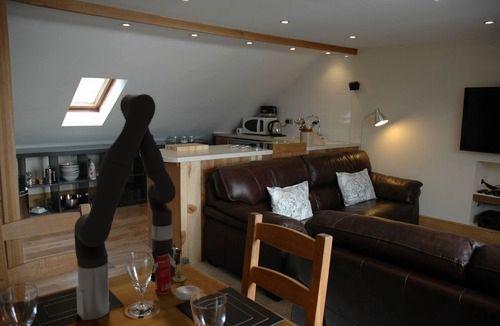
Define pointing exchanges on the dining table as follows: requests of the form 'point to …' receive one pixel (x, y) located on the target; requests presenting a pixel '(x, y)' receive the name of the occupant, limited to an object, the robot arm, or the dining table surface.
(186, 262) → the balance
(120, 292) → the dining table surface
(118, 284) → the dining table surface
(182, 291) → the saucer
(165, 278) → the beverage can
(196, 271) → the dining table surface
